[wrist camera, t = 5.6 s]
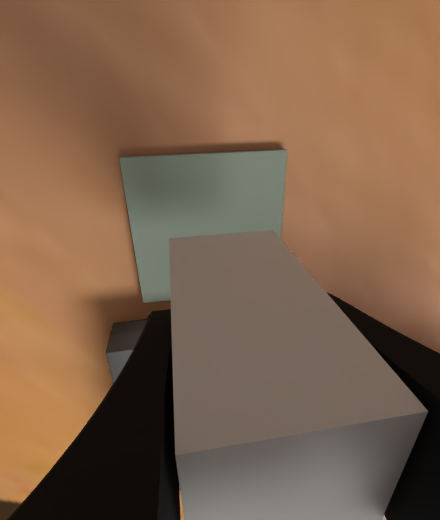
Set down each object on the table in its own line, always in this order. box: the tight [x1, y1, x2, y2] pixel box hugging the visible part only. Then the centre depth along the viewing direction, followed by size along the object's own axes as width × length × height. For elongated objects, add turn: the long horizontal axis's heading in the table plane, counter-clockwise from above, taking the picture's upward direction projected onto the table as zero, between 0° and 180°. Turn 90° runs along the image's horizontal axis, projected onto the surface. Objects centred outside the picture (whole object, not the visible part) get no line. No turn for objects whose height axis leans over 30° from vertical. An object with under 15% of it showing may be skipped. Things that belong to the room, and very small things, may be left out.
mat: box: [119, 149, 287, 303], centre depth 17 cm, size 8×8×1 cm
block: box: [169, 230, 428, 520], centre depth 9 cm, size 4×4×8 cm
